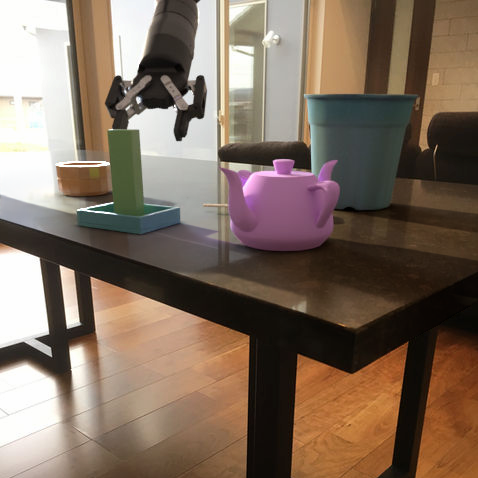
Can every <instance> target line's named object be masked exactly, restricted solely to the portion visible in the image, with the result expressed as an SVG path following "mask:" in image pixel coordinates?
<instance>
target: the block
mask: <svg viewBox="0 0 478 478" xmlns="http://www.w3.org/2000/svg"><path fill="white" fill-rule="evenodd" d="M140 135H141V134H140V129H133V128H132V129H128V128H127V129H114V130H113V129H107V143H108V154H109V164H110V175H111V186H112V189H111V191H112V201H113V202H112V203H114V214H123V215H131V216H138V217H139V216H143V215H145V211H144V204H145V197H144V183H143V181H144V180H143V168H142V167H143V166H142V151H141V150H142V149H141V136H140Z"/></svg>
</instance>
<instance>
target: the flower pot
mask: <svg viewBox="0 0 478 478" xmlns="http://www.w3.org/2000/svg"><path fill="white" fill-rule="evenodd" d="M303 98H304V99H306V103H307V122H308V124H309V126H310V155H311V157H310V158H311V163H310V164H311V173H313V174H314V175H315V176H316V177H317V179H318V176H319V173H320V171H321V169H322V167H323V165H324V164H325V163H327V162H329V161H332V160H337V163H336V164H335V166H334V167H333V170H332V172H331V181H334V182H336V183H338V185H339V188H340V193H339V198H338V201H337V204H336V206H335V208H334V210H341V211H342V210H344V209H346V208H352V209H354V211H379V210H383V209H385V208H388V207H389V206H391V203H392V198H393V192H394V188H395V183H396V179H397V174H398V169H399V163H400V157H401V154H402V149H403V144H404V139H405V135H406V129H407V127H408V125H409V124H410V121H411V117H412V112H413V109H414V104H415V101H416V100H417V99H418V98H419V94H405V93H404V94H400V93H399V94H397V93H395V94H394V93H393V94H392V93H390V94H388V93H307V94H305V93H304V94H303Z"/></svg>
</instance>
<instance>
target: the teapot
mask: <svg viewBox="0 0 478 478" xmlns="http://www.w3.org/2000/svg"><path fill="white" fill-rule="evenodd" d="M272 163H273V168H274V170H260V171H254V172H252V171H249V170H246V169H240V170H238V171H237V172H236V171H235V170H232V169H229V168H225V167H221V166H218V169H219V170H220V171H221V172H222V173H223V174H224V175H225V178H226V180H227V183H228V201H227V204H228V207H227V208H228V209H227V210H228V215H229V218H230V230H231V232H232V233H233V235H234V236H235V238H236V239H237V240H238V241H239V242H240V243H241V244H242V245H244V246H246V247H249V248H252V249H257V250H264V251H272V252H273V251H275V252H295V251H296V252H297V251H305V250H311V249H315V248H318V247H320V246H321V245H322V244H324V242H325V241H327V240H328V239H329V238H330V236H331V235H332V233H333V232H334V216H333V212H334V210H335V209H334V208H335V206H336V204H337V201H338V198H339V193H340V188H339V185H338V183H336V182H334V181H331V172H332V170H333V167H334V166H335V164H336V163H337V160H332V161H329V162H327V163H325V164H324V165H323V167H322V169H321V171H320V173H319V176H318V179H317V177H316V176H315V175H314V174H313V173H312V172H310V171H301V170H293V168H294V165H295V160H293V159H286V158H285V159H284V158H281V159H279V158H278V159H274V160H272Z"/></svg>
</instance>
